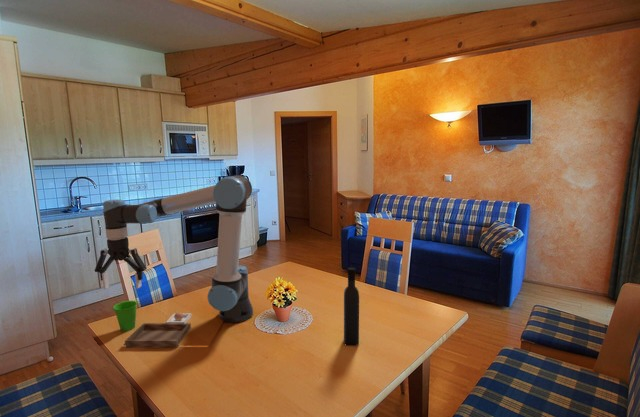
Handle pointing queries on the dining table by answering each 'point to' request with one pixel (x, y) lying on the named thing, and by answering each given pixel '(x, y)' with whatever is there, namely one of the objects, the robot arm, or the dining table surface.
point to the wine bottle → (351, 310)
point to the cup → (126, 314)
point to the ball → (178, 316)
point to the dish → (183, 320)
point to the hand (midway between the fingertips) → (122, 287)
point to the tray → (158, 335)
